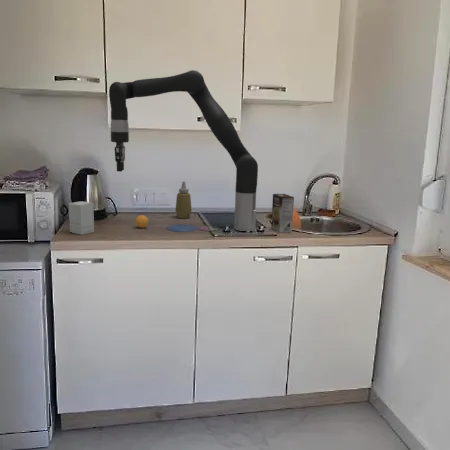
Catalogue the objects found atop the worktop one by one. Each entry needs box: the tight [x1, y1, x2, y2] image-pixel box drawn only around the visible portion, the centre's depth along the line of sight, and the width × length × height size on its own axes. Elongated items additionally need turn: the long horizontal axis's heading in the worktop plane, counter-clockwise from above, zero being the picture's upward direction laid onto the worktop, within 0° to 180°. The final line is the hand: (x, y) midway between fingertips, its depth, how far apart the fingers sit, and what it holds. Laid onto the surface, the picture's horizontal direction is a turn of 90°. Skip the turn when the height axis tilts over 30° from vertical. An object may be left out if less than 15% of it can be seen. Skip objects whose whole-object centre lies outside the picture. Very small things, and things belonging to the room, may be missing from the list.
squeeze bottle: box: [175, 181, 192, 219], centre depth 235 cm, size 8×8×18 cm
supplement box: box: [68, 200, 95, 235], centre depth 200 cm, size 7×7×13 cm
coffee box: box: [270, 193, 295, 233], centre depth 214 cm, size 9×6×16 cm
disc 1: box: [166, 224, 199, 233], centre depth 213 cm, size 14×14×1 cm
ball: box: [135, 214, 149, 229], centre depth 212 cm, size 6×6×6 cm
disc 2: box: [197, 225, 211, 232], centre depth 214 cm, size 10×10×1 cm
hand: (120, 170), depth 206 cm, fingers open, 4 cm apart
